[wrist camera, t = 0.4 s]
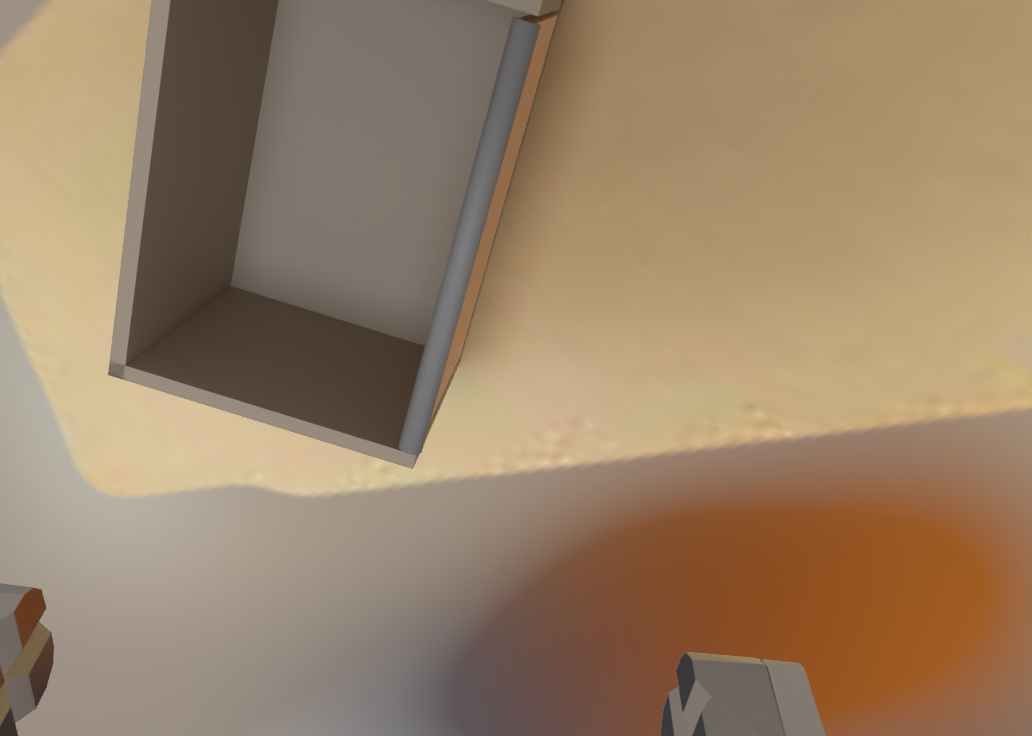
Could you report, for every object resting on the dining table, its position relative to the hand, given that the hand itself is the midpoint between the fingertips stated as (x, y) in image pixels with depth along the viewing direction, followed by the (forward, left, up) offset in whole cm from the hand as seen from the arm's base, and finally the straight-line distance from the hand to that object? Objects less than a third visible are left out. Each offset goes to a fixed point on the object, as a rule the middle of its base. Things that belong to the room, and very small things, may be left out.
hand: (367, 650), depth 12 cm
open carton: (+4, -10, -45) cm, 46 cm away
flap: (+4, -3, -44) cm, 44 cm away
